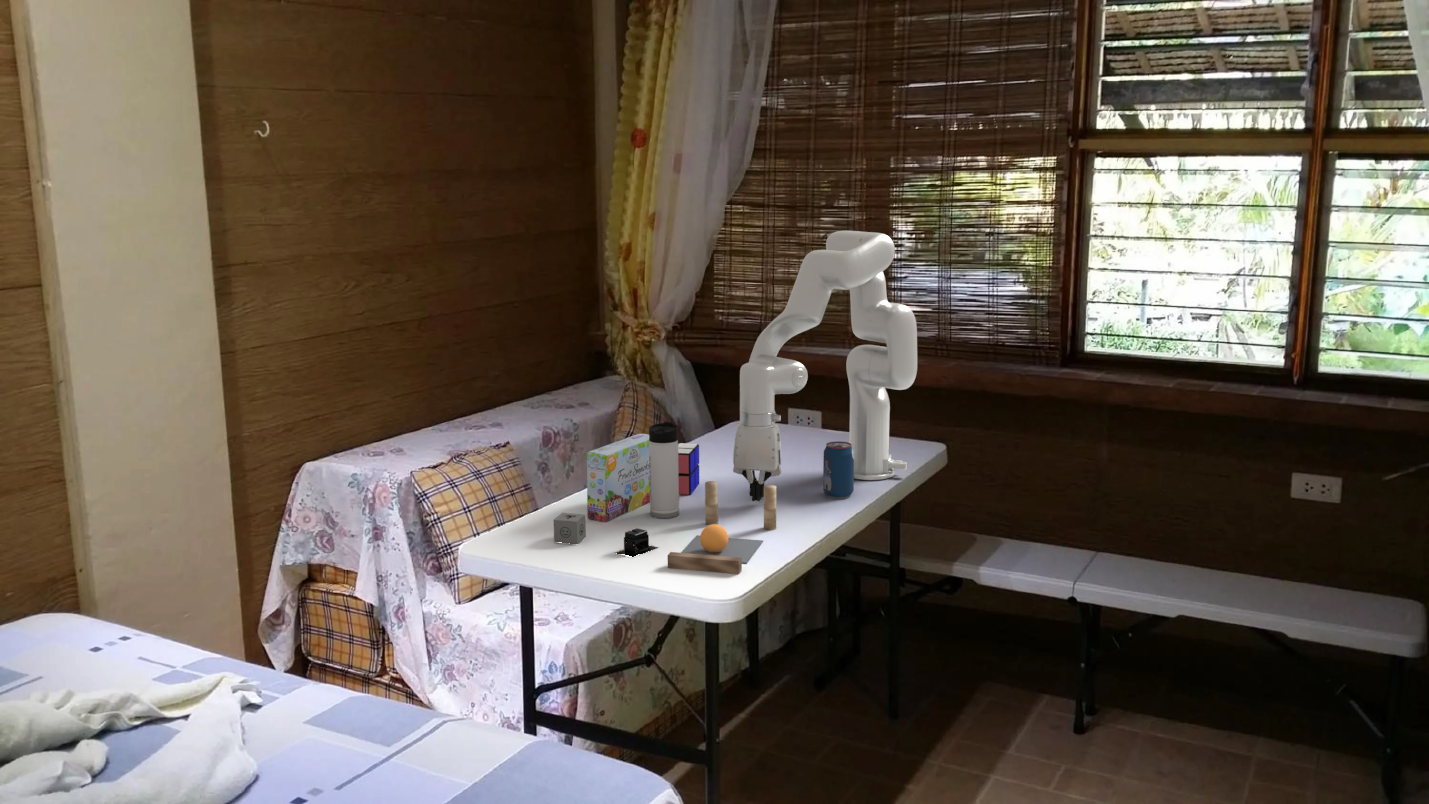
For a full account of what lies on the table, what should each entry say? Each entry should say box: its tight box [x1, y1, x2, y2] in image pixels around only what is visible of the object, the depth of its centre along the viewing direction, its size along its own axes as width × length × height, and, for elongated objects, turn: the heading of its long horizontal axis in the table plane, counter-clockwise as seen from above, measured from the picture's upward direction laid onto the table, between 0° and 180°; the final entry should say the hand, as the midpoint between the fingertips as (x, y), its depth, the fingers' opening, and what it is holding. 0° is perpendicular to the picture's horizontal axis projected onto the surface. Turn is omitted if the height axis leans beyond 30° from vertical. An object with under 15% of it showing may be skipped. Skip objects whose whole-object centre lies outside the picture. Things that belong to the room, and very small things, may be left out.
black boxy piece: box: [615, 527, 659, 558], centre depth 246 cm, size 12×7×5 cm, turn 142°
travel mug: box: [648, 421, 680, 519], centre depth 268 cm, size 6×7×20 cm
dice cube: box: [552, 512, 587, 545], centre depth 252 cm, size 5×5×5 cm
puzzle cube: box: [678, 442, 700, 496], centre depth 289 cm, size 10×10×10 cm
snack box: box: [586, 433, 650, 523], centre depth 273 cm, size 21×6×15 cm, turn 151°
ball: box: [699, 524, 729, 553], centre depth 244 cm, size 6×6×6 cm
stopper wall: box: [667, 551, 743, 575], centre depth 235 cm, size 14×2×2 cm, turn 75°
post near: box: [763, 484, 777, 531], centre depth 259 cm, size 3×3×9 cm
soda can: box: [822, 440, 855, 499], centre depth 282 cm, size 7×7×12 cm
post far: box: [704, 480, 719, 526], centre depth 262 cm, size 3×3×9 cm
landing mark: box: [680, 534, 764, 564], centre depth 246 cm, size 14×14×1 cm
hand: (757, 499), depth 275 cm, fingers closed
